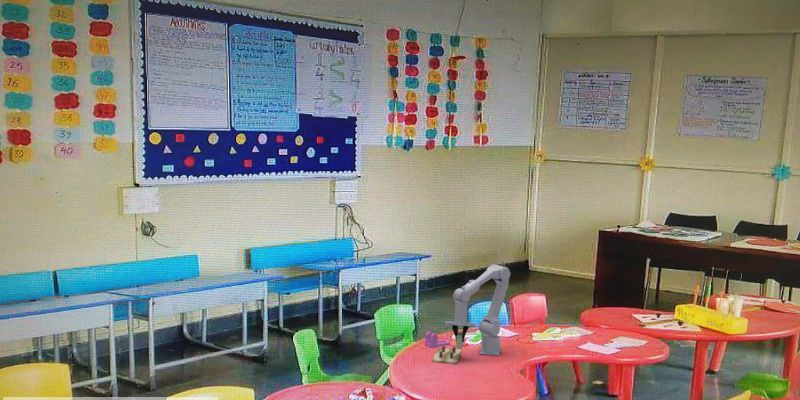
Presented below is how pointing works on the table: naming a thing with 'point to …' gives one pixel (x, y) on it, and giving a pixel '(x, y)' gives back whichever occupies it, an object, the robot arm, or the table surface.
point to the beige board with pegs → (447, 355)
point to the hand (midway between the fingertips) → (460, 341)
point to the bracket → (434, 340)
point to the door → (459, 340)
